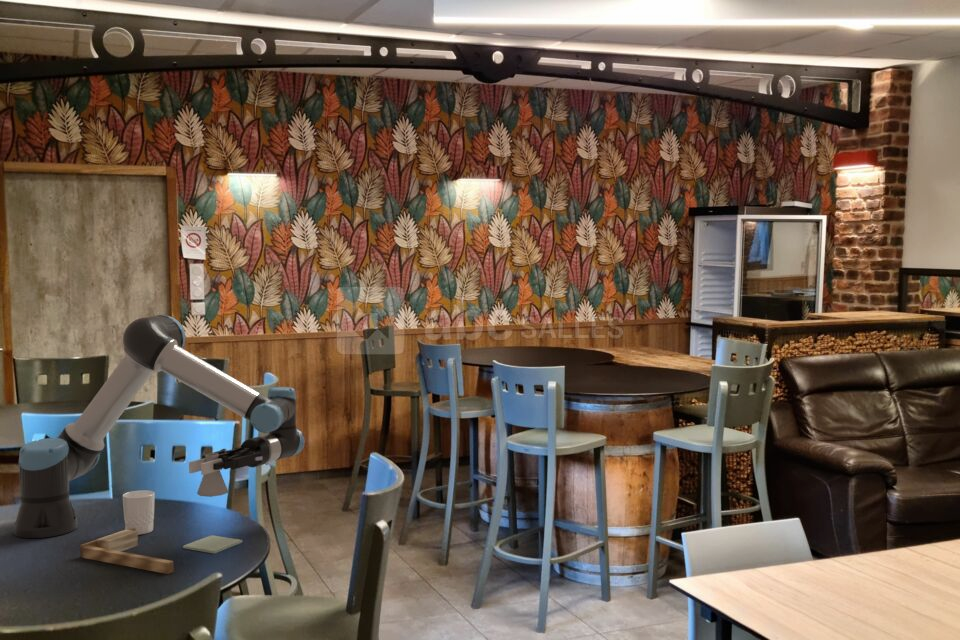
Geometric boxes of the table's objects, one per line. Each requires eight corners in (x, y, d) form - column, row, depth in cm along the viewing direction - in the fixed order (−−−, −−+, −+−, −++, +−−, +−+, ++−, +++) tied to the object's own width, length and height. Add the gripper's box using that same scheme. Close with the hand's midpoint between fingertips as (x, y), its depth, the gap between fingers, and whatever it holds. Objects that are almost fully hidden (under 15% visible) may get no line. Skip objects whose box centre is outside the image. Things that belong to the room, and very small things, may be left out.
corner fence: (80, 557, 218) (80, 544, 218) (132, 539, 233) (132, 527, 233) (168, 574, 206) (167, 560, 206) (217, 554, 220) (217, 541, 220)
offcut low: (96, 555, 221) (96, 547, 221) (125, 545, 229) (125, 537, 229) (108, 557, 220) (108, 549, 219) (137, 547, 228) (137, 539, 228)
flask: (209, 499, 222) (208, 458, 221) (191, 495, 226) (190, 455, 226) (234, 493, 228) (233, 453, 227) (215, 489, 232) (214, 450, 231)
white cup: (160, 527, 243) (159, 490, 243) (147, 536, 236) (146, 497, 235) (132, 526, 244) (131, 489, 244) (117, 535, 236) (116, 497, 236)
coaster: (183, 548, 225) (183, 545, 225) (211, 537, 234) (211, 535, 234) (214, 553, 221) (214, 551, 221) (242, 542, 230) (242, 540, 230)
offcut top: (97, 547, 221) (96, 539, 221) (126, 537, 229) (125, 529, 229) (109, 549, 220) (108, 541, 219) (138, 539, 228) (137, 531, 228)
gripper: (284, 467, 239) (222, 487, 218) (236, 462, 246) (171, 480, 225) (284, 439, 239) (221, 455, 218) (235, 434, 246) (170, 450, 225)
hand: (196, 468), depth 222 cm, fingers closed on flask, 3 cm apart
